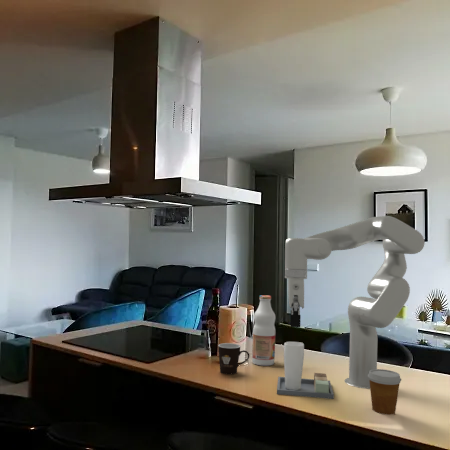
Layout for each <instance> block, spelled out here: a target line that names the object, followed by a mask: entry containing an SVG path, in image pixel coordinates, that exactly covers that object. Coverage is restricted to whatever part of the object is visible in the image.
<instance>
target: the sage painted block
mask: <svg viewBox="0 0 450 450" xmlns="http://www.w3.org/2000/svg"><path fill="white" fill-rule="evenodd" d="M328 381H329V380H328ZM328 381H321V380H316V383H315V392H320V393H329V383H328Z"/></svg>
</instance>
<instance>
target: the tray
mask: <svg viewBox="0 0 450 450" xmlns="http://www.w3.org/2000/svg"><path fill="white" fill-rule="evenodd" d="M328 383H329V393H320V392H315V388H314V378H313V379H312V378H301V388H300V389H299V390H288V389H286V388H285V376H278V377H277V385H276V395H281V396H284V395H285V396H291V397H292V396H295V397H304V398H316V399H318V398H319V399H326V400H327V399H328V400H333V399H334V398H335V394H334V390H333V387H332V383H331V380H328Z"/></svg>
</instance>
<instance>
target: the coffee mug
mask: <svg viewBox="0 0 450 450" xmlns="http://www.w3.org/2000/svg"><path fill="white" fill-rule="evenodd" d="M217 347H218V349H217V350H218V358H219V359H218V360H219V363H218V364H219V372H220V373H221V374H223V375H235V374H237V373H238V367H240V365H243V364H244V363H246V362H247V361H249V359H250V353H249V351H247V350H245V349H244V350H243V349H242V350H241V347H242V346H241V345H240V344H237V343H232V342H231V343H230V342H225V343H220V344H218V346H217ZM242 353H246V354H247V358H246V359H245V360H244V361H242V362H240V363H239V360H240V356H241V354H242Z"/></svg>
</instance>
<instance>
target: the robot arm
mask: <svg viewBox="0 0 450 450" xmlns="http://www.w3.org/2000/svg"><path fill="white" fill-rule="evenodd" d="M379 240H380V241H382V247H383V251H384V261H383V263H382V264H381V265H380V267H379V268H378V269H377V271H376V272H375V274H374V275H373V276H372V278H371V279H370V281H369V283H368V285H367V289H366V291H367V294H368V296H369V297H367V296H356V297H354V298H353V299H351V300H350V302H349V304H348V307H347V315H348V321H349V357H348V358H349V361H348V363H349V364H348V377H347V378H345V379H344V383H345V384H347V385H348V386H351V387H355V388H360V389H367V390H368V389H370V382H369V377H368V374H369V371H370V370H373V369H378V332H377V329H383V328H387V327H388V326H389V325H391V323H393V322H394V320H395V318H396V317H397V316H398V315H399V314H400V312H401V311H402V308H403V307H404V306H405V305H406V303H407V301H408V299H409V297H410V293H411V287H410V284H409V282H408V281H407V279H405V278H404V277H405V274H406V272H407V269H408V267H407V266H408V265H407V261H406V259H407V258H406V255H415V254H418V253H420V252H422V251H423V249H424V247H425V238H424V236H423V234H422V233H421V232H420V231H418V229H415V228H414V227H412V226H410V225H409V224H407V223H405V222H404V221H402V220H400V219H398V218H396V217H393V216H391V215H384V216H383V215H381V216H372V217H369V218H366V219H362V220H360V221H357V222H354V223H352V224H348V225H344V226H339V227H337V228H335V229H331V230H327V231H323V232H320V233H316V234H312V235H310V236H307V237H304V238H302V237H301V238H299V237H295V238H294V237H291V238H290V237H289V238H287V239H286V240H285V242H284V243H285V244H284V245H285V246H284V247H285V248H284V279H287V281H288V283H287V284H288V286H287V288H288V289H287V290H288V303H289V308H290V309H291V310H290V327H291V328H301V310H302V309H304V308H305V280H307V279H308V260H316V261H319V260H320V261H322V260H325V259H327V258H328V257H330V255H331V254H332V252H335V251H347V250H351V249H356V248H359V247H361V246H363V245H364V246H365V245H367V244H369V243H373V242H376V241H379ZM301 308H302V309H301Z"/></svg>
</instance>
